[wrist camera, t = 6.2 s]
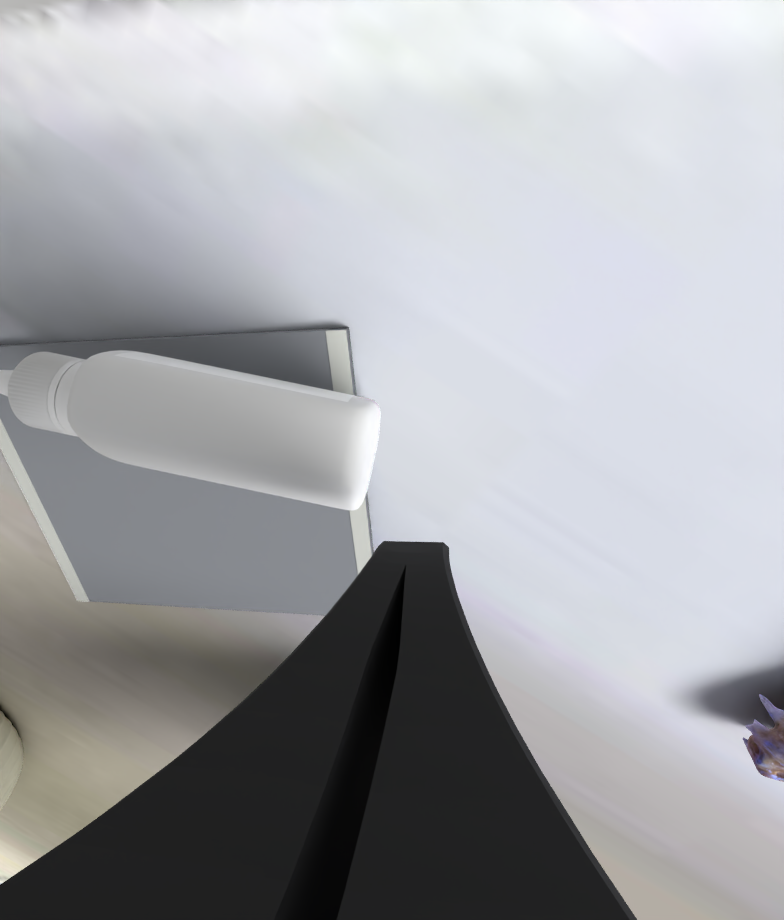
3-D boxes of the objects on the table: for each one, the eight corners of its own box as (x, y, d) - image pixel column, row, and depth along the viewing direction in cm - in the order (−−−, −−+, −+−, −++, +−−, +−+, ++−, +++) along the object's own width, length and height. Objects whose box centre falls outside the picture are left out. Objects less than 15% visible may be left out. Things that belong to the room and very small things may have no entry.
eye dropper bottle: (392, 369, 15) (60, 302, 15) (368, 422, 10) (-130, 320, 10) (372, 478, 17) (75, 417, 17) (343, 571, 12) (-78, 481, 12)
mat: (380, 612, 20) (378, 619, 20) (83, 595, 23) (77, 601, 23) (348, 327, 15) (345, 329, 14) (-39, 347, 17) (-51, 349, 17)
